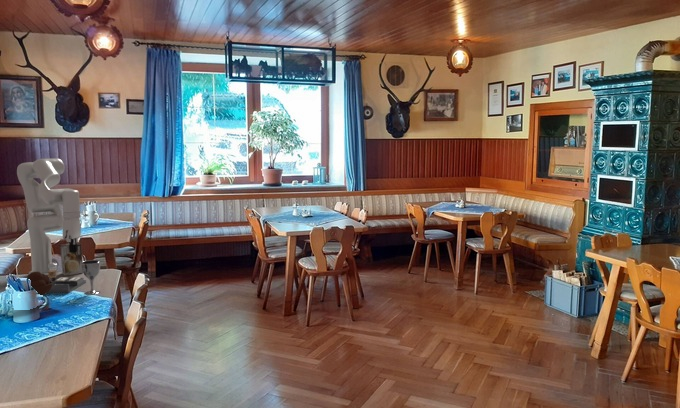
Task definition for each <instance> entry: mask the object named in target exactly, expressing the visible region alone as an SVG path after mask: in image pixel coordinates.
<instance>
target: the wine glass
mask: <svg viewBox="0 0 680 408" xmlns="http://www.w3.org/2000/svg"><path fill="white" fill-rule="evenodd" d="M82 271H83V273H82V274H83V276H85V277H86V278H87V279H88V280H89V283H90V290H88V291H85V292H84V293H83V294H84V295H85V296H91V295H92V296H93V295H98V294H100V293H101V291H100V290H97V289H95V290H94V280H95V279H96V277H97V276H98V275H99V273H100V271H101V261H100V260H99V259H89V260H84V261H83V260H82Z"/></svg>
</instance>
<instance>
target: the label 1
mask: <svg viewBox="0 0 680 408" xmlns="http://www.w3.org/2000/svg"><path fill="white" fill-rule="evenodd" d="M68 278H69V277H59V279H58V278H57V279H58V280H57V279H56V281H64V280H66V279H68Z"/></svg>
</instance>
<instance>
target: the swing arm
mask: <svg viewBox="0 0 680 408" xmlns="http://www.w3.org/2000/svg"><path fill="white" fill-rule="evenodd" d="M58 269H59V267H58V263H57V262H52V263H50V264H48V275H47V276H48V277H49V278H50V279H51V278H52V277H56V278H57V271H58Z"/></svg>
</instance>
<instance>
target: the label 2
mask: <svg viewBox="0 0 680 408" xmlns="http://www.w3.org/2000/svg"><path fill="white" fill-rule="evenodd" d="M71 278H72V279H70V280H69V281H77V280H78V279H80V278H81V277H71Z"/></svg>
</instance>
